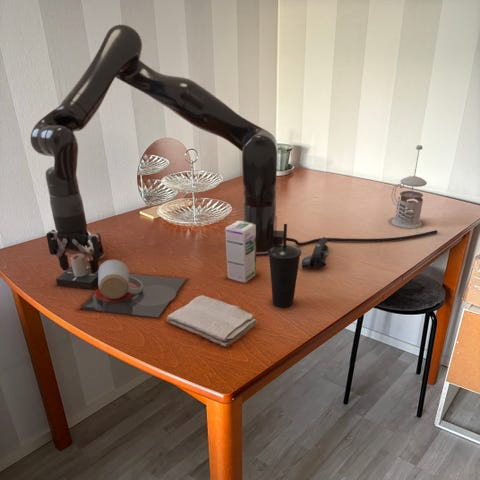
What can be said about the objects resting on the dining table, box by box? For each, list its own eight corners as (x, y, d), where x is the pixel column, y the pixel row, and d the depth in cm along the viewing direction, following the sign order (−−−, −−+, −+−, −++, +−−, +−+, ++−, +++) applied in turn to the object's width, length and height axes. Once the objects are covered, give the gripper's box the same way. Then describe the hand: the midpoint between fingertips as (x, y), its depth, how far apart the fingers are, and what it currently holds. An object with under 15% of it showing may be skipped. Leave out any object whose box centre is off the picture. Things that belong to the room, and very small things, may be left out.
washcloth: (228, 350, 102) (227, 337, 101) (164, 324, 111) (163, 312, 110) (259, 325, 111) (260, 313, 109) (198, 303, 120) (197, 291, 118)
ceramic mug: (100, 302, 120) (95, 274, 116) (100, 287, 126) (96, 260, 122) (144, 298, 122) (141, 270, 118) (142, 283, 128) (139, 256, 124)
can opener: (324, 274, 132) (325, 255, 129) (298, 270, 134) (299, 251, 131) (336, 249, 146) (338, 231, 143) (313, 246, 148) (315, 228, 145)
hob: (187, 280, 130) (187, 279, 130) (160, 318, 114) (160, 317, 113) (114, 273, 134) (114, 272, 134) (77, 309, 118) (77, 308, 118)
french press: (411, 230, 158) (425, 150, 145) (380, 221, 166) (391, 144, 153) (427, 223, 164) (442, 145, 151) (397, 214, 171) (409, 139, 158)
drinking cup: (265, 296, 122) (266, 219, 111) (295, 294, 122) (299, 217, 112) (269, 312, 115) (270, 231, 105) (301, 310, 116) (306, 229, 105)
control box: (106, 275, 133) (105, 268, 132) (92, 289, 126) (90, 281, 125) (73, 272, 135) (71, 265, 134) (57, 285, 128) (55, 278, 127)
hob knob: (77, 270, 132) (73, 252, 129) (90, 271, 131) (86, 252, 128) (71, 276, 128) (67, 257, 126) (84, 277, 128) (80, 258, 125)
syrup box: (245, 283, 128) (245, 230, 121) (226, 278, 131) (224, 226, 123) (256, 275, 132) (256, 223, 125) (238, 270, 135) (237, 219, 127)
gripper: (101, 207, 122) (111, 267, 131) (50, 203, 125) (63, 262, 134) (87, 217, 116) (98, 279, 125) (33, 213, 119) (48, 274, 128)
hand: (80, 270), depth 129 cm, fingers open, 8 cm apart
